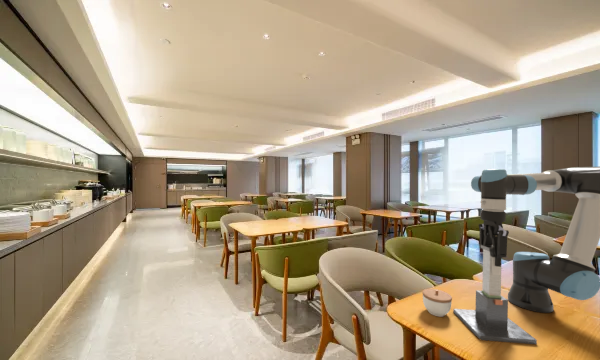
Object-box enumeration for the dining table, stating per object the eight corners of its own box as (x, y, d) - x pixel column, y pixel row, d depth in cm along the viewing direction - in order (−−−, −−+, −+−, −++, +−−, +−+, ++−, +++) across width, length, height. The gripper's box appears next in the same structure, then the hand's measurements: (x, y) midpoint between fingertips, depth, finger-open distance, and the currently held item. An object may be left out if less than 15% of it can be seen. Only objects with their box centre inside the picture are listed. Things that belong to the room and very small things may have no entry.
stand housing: (499, 315, 102) (500, 286, 102) (536, 344, 85) (537, 308, 85) (453, 312, 104) (454, 283, 104) (479, 339, 86) (480, 305, 86)
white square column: (493, 299, 97) (495, 245, 97) (503, 306, 92) (504, 248, 91) (479, 298, 97) (480, 244, 97) (488, 305, 92) (489, 248, 92)
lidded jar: (456, 321, 98) (456, 297, 98) (426, 318, 100) (426, 294, 100) (445, 307, 108) (446, 286, 108) (419, 304, 110) (419, 283, 110)
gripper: (469, 207, 103) (468, 263, 103) (497, 213, 86) (496, 280, 86) (489, 207, 102) (487, 264, 102) (521, 213, 85) (520, 281, 85)
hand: (491, 271), depth 94 cm, fingers closed on white square column, 4 cm apart
